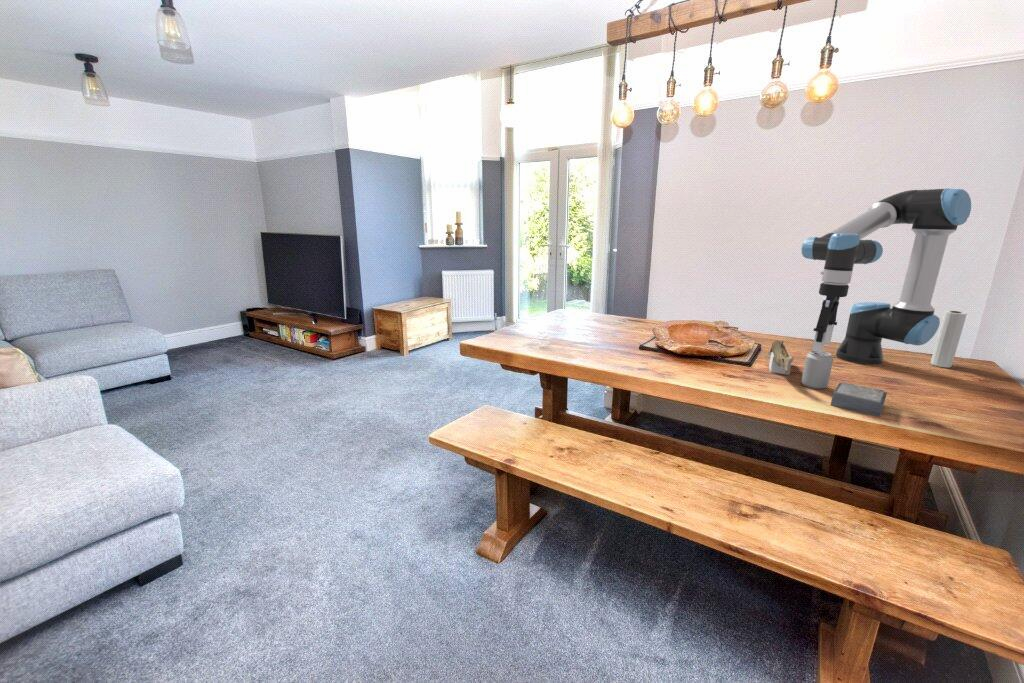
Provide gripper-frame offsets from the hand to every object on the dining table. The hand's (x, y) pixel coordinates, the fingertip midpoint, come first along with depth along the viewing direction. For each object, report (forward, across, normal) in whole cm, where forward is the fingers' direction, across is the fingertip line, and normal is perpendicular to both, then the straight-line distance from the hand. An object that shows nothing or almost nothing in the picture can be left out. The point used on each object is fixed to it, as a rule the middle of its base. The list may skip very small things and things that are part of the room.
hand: (821, 347), depth 149 cm
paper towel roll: (+13, -61, +32) cm, 71 cm away
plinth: (+14, +8, +13) cm, 21 cm away
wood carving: (+14, -8, -12) cm, 20 cm away
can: (+14, 0, 0) cm, 14 cm away
